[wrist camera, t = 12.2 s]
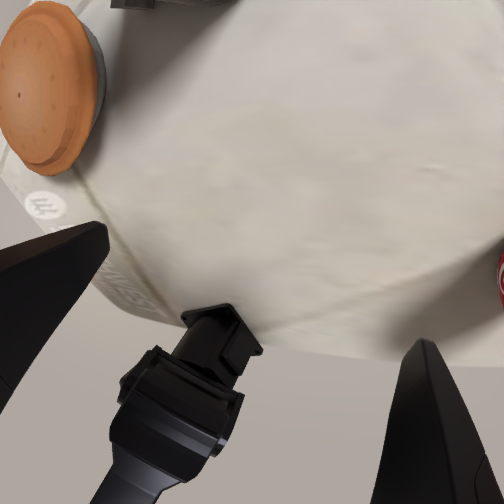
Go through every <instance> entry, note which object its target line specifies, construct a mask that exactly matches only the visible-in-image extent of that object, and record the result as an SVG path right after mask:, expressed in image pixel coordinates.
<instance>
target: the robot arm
mask: <svg viewBox="0 0 504 504" xmlns="http://www.w3.org/2000/svg"><path fill="white" fill-rule="evenodd" d="M109 251H110V243H109V236H108V229H107V226H106V225H105V224H103V223H101V222H98V221H91V222H88V223H84V224H81V225H77V226H74V227H70V228H67V229H64V230H60V231H57V232H54V233H51V234H47V235H44V236H41V237H38V238H35V239H32V240H28V241H25V242H22V243H20V244H16V245H13V246H10V247H7V248H5V249H2V250H0V414H1V412H2V411H3V409H4V407H5V406H6V404H7V402H8V401H9V399H10V397H11V396H12V394H13V392H14V390H15V389H16V387H17V386H18V384H19V382H20V381H21V379H22V378H23V376H24V374H25V373H26V372H27V370H28V369H29V367H30V366H31V364H32V362H33V361H34V359H35V358H36V357H37V355H38V354H39V352H40V351H41V349H42V348H43V346H44V345H45V343H46V342H47V341H48V339H49V338H50V336H51V335H52V334H53V332H54V331H55V329H56V328H57V326H58V325H59V324H60V323H61V321H62V320H63V318H64V317H65V316H66V314H67V313H68V312H69V310H70V309H71V308H72V306H73V305H74V304H75V303H76V301H77V300H78V299H79V297H80V296H81V295H82V293H83V292H84V290H85V289H86V287H87V286H88V284H89V283H90V281H91V280H92V278H93V276H94V275H95V273H96V272H97V270H98V269H99V267H100V266H101V264H102V263H103V261H104V260H105V258H106V257H107V255H108V253H109ZM180 317H181V319H182V321H183V322H184V323H185V324H186V326H187V327H188V330H187V331H186V333H185V334H184V336H183V337H182V339H181V340H180V342H179V343H178V345H177V346H176V348H175V349H174V351H173V352H172V354H171V355H170V354H169V353H167V352H165V351H164V350H162V348H161V347H159V346H158V345H156V346H155V347H154V348H153V349H152V350H147V352H146V353H145V354H144V356H143V357H142V359H141V360H140V361H139V362H138V364H137V365H135V366H134V367H133V368H132V369H131V370H130V371H129V372H127V373H126V374H125V375H124V376H123V377H122V378H121V380H120V382H119V383H120V387H121V390H120V393H119V396H118V399H117V402H118V403H119V404H120V405H121V407H120V408H119V410H118V412H117V414H116V415H115V417H114V419H113V421H112V423H111V426H110V432H109V440H110V441H111V442H112V452H113V465H112V466H111V468H110V470H109V472H108V473H107V475H106V477H105V478H104V480H103V482H102V483H101V485H100V487H99V488H98V490H97V492H96V493H95V495H94V497H93V498H92V500H91V502H90V504H155V503H156V501H157V500H158V498H159V496H160V495H161V493H162V492H163V491H164V490H167V489H169V488H171V487H173V486H175V485H177V484H179V483H181V482H182V483H187V482H188V481H190V480H192V479H193V478H195V477H196V476H197V475H198V474H199V473H200V471H201V470H202V468H203V466H204V465H205V463H206V461H207V460H208V458H209V456H212V457H216V456H217V455H218V454H219V453H220V452H221V451H222V449H223V447H224V446H225V444H226V443H227V441H228V439H229V437H230V435H231V433H232V430H233V428H234V426H235V422H236V420H237V417H238V414H239V411H240V408H241V405H242V402H243V400H244V397H245V395H244V394H242V393H240V392H239V393H238V392H236V391H234V390H232V389H233V387H234V385H235V383H236V381H237V378H238V376H241V375H242V373H243V371H244V369H245V367H246V365H247V362H248V361H249V358H250V356H259V355H262V353H263V348H262V347H261V345H260V344H259V343H258V341H257V340H256V338H255V337H254V336H253V334H252V333H251V331H250V330H249V329H248V327H247V326H246V324H245V323H244V322H243V320H242V319H241V317H240V316H239V314H238V313H237V312H236V310H235V309H234V307H233V306H232V305H230V304H222V305H218V306H213V307H208V308H203V309H198V310H193V311H188V312H183V313H182V315H181V316H180ZM370 504H504V498H503V496H502V494H501V491H500V489H499V486H498V484H497V481H496V479H495V476H494V473H493V471H492V468H491V465H490V463H489V460H488V457H487V455H486V454H485V450H484V447H483V445H482V442H481V440H480V437H479V435H478V432H477V430H476V428H475V425H474V423H473V421H472V418H471V416H470V414H469V412H468V409H467V407H466V405H465V403H464V401H463V398H462V397H461V394H460V392H459V390H458V388H457V386H456V384H455V382H454V380H453V378H452V376H451V373H450V372H449V369H448V367H447V366H446V364H445V362H444V360H443V358H442V356H441V354H440V352H439V350H438V348H437V346H436V344H435V343H434V342H433V341H430V340H427V339H424V338H420V339H418V340H417V341H416V342H415V344H414V345H413V346H412V347H411V349H410V350H409V351H408V352H407V354H406V355H405V356H404V358H403V360H402V363H401V367H400V372H399V376H398V381H397V385H396V389H395V393H394V397H393V401H392V405H391V409H390V413H389V418H388V424H387V429H386V436H385V441H384V446H383V451H382V456H381V460H380V465H379V470H378V474H377V478H376V482H375V487H374V490H373V494H372V498H371V502H370Z"/></svg>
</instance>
